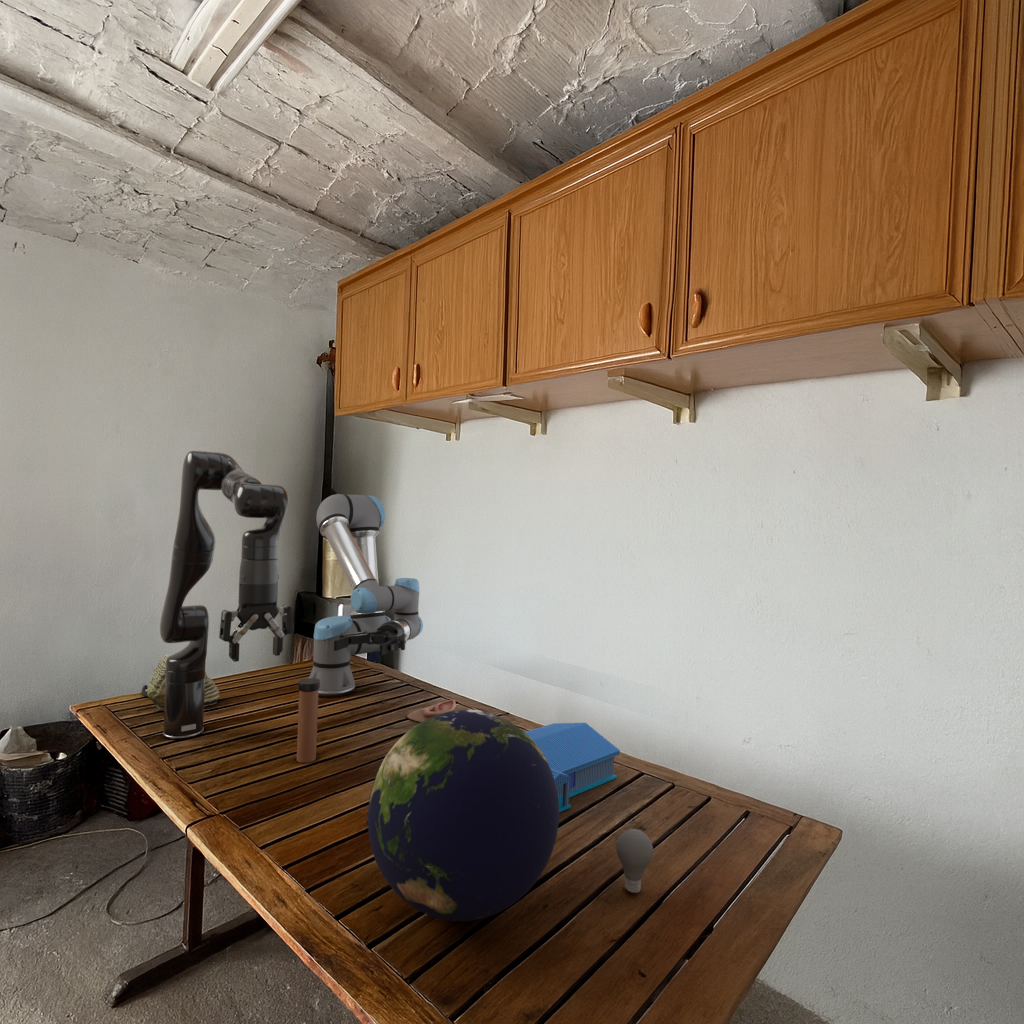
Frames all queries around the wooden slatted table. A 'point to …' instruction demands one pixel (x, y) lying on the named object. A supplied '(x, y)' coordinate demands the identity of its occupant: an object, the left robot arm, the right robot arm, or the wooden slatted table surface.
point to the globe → (463, 815)
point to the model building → (575, 757)
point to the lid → (308, 684)
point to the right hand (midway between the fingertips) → (357, 647)
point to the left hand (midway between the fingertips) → (256, 657)
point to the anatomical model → (432, 711)
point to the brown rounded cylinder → (307, 726)
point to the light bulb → (634, 857)
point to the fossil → (158, 687)
